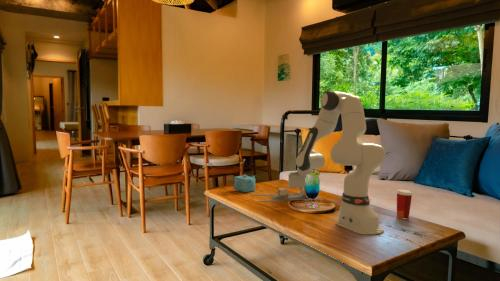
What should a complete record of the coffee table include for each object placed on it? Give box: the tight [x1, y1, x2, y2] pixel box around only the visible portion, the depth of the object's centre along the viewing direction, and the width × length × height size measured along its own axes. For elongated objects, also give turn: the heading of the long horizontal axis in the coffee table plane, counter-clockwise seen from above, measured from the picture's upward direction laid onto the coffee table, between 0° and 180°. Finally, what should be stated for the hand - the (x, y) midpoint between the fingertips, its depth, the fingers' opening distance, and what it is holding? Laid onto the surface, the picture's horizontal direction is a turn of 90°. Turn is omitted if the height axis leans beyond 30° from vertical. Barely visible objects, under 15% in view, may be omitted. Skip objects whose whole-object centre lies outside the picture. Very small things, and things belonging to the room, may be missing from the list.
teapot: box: [233, 174, 256, 193], centre depth 216 cm, size 16×18×11 cm
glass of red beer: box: [395, 189, 413, 219], centre depth 172 cm, size 8×8×14 cm
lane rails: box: [249, 192, 321, 203], centre depth 202 cm, size 14×40×1 cm, turn 107°
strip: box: [269, 187, 308, 201], centre depth 204 cm, size 11×26×6 cm, turn 107°
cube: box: [277, 187, 290, 199], centre depth 202 cm, size 5×5×5 cm
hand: (303, 194), depth 206 cm, fingers closed
